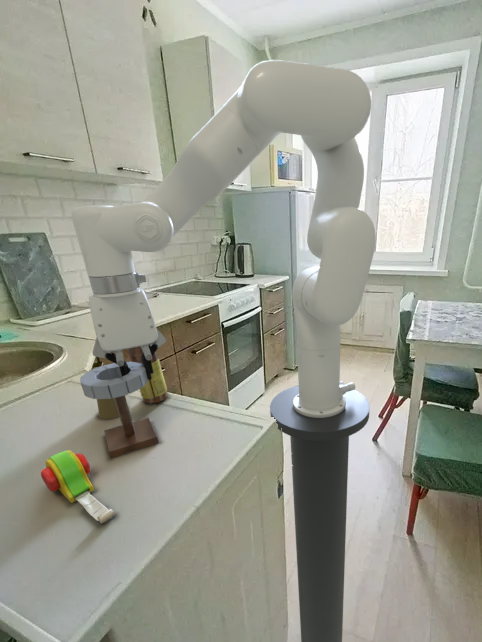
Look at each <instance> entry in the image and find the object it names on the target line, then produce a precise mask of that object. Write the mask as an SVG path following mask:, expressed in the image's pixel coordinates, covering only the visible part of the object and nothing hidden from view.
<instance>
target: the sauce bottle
mask: <svg viewBox="0 0 482 642" xmlns="http://www.w3.org/2000/svg"><path fill="white" fill-rule="evenodd" d="M149 345H150V344H148V346H149ZM128 355H129V359H130V362H136V363H141V364H142V360H141V358H142V355H143V353H142V350H141V347H140V346H138V347H133V348H128ZM151 363H152V368H153V372H154V373H152V374H151V378H152V379H151V380H149V379H148V382H147V383H146V384H145V385H144V387H142V388H141V389H139V392H140V396H141V397H142V400H143V402H145V403H146V404H158V403H160V402H163V401H165V400H166V399H167V398H168V396H169V392H168V387H167V384H166V380H165V377H164V373H163V369H162V365H161V362H160V358H159V356H158V353H157V351H156V352H155V353H154V354H153V356H152V359H151Z"/></svg>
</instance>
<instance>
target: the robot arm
mask: <svg viewBox="0 0 482 642" xmlns="http://www.w3.org/2000/svg"><path fill="white" fill-rule="evenodd" d="M366 83H367V82H365V81H364V80H363V78H362V77H361V76H360V75H359V74H357V73H355V72H353V71H351V70H349V69H345V68H340V67H335V66H325V65H317V64H312V63H305V62H298V61H290V60H282V59H269V60H268V59H267V60H262V61H260V62H257V63H256V64H254V65H253V66H252V67H251V68H250V69H249V71H248V72H247V74H246V76H245V78H244V80H243V81H242V83H241V85H240V86H239V88H238V89H237V90H236V91H235V92H234V93H233V94H232V95H231V96H230V97H229V99H227V101H226V102H225V103H224V104H223V105H222V106H221V108H219V110H217V111H216V113H215V114H214V115H213V116H212V117H211V118H210V119H209V120H208V121H207V122H206V123H205V125H203V126H202V127H201V128H200V130H198V131H197V132H196V133H195V134H194V135H193V136H192V138H191V139H189V141H188V142H187V144H186V145H185V146H184V148H183V149H182V151H181V152H180V155H179V156H178V159H177V161H176V162H175V164H174V165H173V167H172V169H171V170H170V171H169V172H168V174H167V175H166V176H165V177H164V178H163V179H162V181H161V182H159V184H158V185H157V187H155V188H154V189H153V191H152V192H151V193H150V194H149V195H148V196H147V197H146V198H145V199H144V200H143V201H138V202H134V203H129V204H122V205H117V206H114V205H109V204H107V205H106V204H105V205H104V204H103V205H101V204H99V205H82V206H77V207H75V208H73V210H72V211H71V220H72V224H73V227H74V231H75V234H76V238H77V241H78V245H79V248H80V252H81V256H82V258H83V262H84V265H85V270H86V273H87V277H88V280H89V283H90V286H91V291H92V293H91V294H89V295H88V301H89V310H90V316H91V319H92V324H93V329H94V332H95V336H96V337H95V340H94V343H93V347H92V356H93V357H95V358H100V359H106V360H108V361H110V362H112V364H113V363H115V364H117V365H118V366H119V368H120V371H121V375H122V377H123V376H125V375H127V374H128V373H129V368H128V365H127V363H126V362H127V361H126V360H125V358H124V353H123V350H126V349H128V350H129V349H130V348H133V347H138V346H140V347H141V350H142V353H143V355H142V358H141V360H142V364H143V366H144V367H145V370H146V374H147V378H148V379H149V380H151V379H152V378H151V374H152V373H154V372H153V368H152V363H151V359H152V356H153V354H154V353H155V352H156V353H157V351H158V349H159V348H161V347H162V346H163V345H164V344H166V342H167V338H166V337H165V335H163V334H162V332H161V331H160V330H159V329H158V328H157V325H156V322H155V318H154V315H153V311H152V308H151V306H150V303H149V300H148V297H147V294H146V292H145V291H144V289H143V288H141V284H143V283H146V282H147V277H146V274H140V273H138V272H137V271H136V267H135V263H134V258H133V253H132V252H142V253H157V252H160V251H161V252H162V251H163V250H165V249H166V248H167V247H168V246H169V245H170V243H171V242H172V241H173V238H174V237H176V235H177V234H178V233H179V232H180V231H181V230H182V229H183V228H184V226H185V225H186V224H187V223H188V222H190V220H191V219H192V218H193V217H194V216H195V215H197V213H198V212H199V211H201V209H203V208H204V206H206V205H207V204H208V203H210V202H211V201H213V200H215V199H216V198H217V197H219V196H221V194H222V193H224V191H226V190H227V188H229V187H230V186H231V185H232V184H233V183H234V182H235V181H236V179H237V178H239V176H240V175H241V174H242V173H243V172H244V171H245V170H246V169H247V168H248V167H249V166H250V165H252V163H253V162H254V161H255V160H256V159H257V157H259V156H260V155H261V153H263V151H264V150H266V148H267V147H268V146H270V144H272V142H273V141H274V140H276V138H277V137H278V136H279V135H280V134H281V133H283V134H290V135H297V136H300V137H301V139H302V141H303V143H304V144H305V146H307V148H308V149H309V151H310V152H311V154H312V156H313V159H314V160H315V164H316V168H317V180H316V188H315V194H314V200H313V206H312V210H311V215H310V220H309V223H308V230H307V236H306V237H307V238H306V239H307V240H306V243H307V247H308V250H309V251H310V252H311V254H312V255H313V256H314V257H316V258H317V259H319V260H320V262H319V266H312V267H311V266H310V267H308V268H306V269H304V270H302V271H300V273H299V274H298V275H297V276H296V278H295V280H294V282H293V285H292V290H291V292H292V293H291V298H292V305H293V306H292V307H293V312H294V319H295V329H296V353H297V372H298V373H297V376H298V377H297V380H298V381H297V382H298V385H299V394H298V395H297V396H295V398H294V399H293V408H294V409H295V410H296V411H297V412H298V413H300V414H301V415H304V416H307V417H313V418H326V417H331V416H334V415H337V414H339V413H340V412H342V411H343V410H344V409H345V407H346V400H345V398H344V397H343V395H344V394H345V393H346V392H349V391H352V390H356V384H355V383H354V382H352V381H351V382H348V383H346V384H345V382H344V381H343V380H341V379H340V377H341V375H340V374H341V325H344V324H346V323H348V322H349V321H350V320H351V319H352V318H354V316H355V315H356V313H357V312H358V310H359V307H360V305H361V303H362V299H363V296H364V292H365V288H366V285H367V282H368V277H369V275H370V270H371V266H372V262H373V258H374V254H375V250H376V242H377V236H376V235H377V234H376V228H375V225H374V222H373V219H372V218H371V217H370V215H369V214H368V213H367V212H366V211H364V210H363V209H361V208H359V207H360V203H361V197H362V192H363V187H364V179H365V165H364V160H363V155H362V153H361V150H360V147H359V144H358V142H357V140H356V137H357V136H358V135H359V134H360V133H362V131H363V130H364V128H365V127H366V125H367V124H368V122H369V118H370V115H371V111H372V96H371V93H370V89H369V87H368V85H367V84H366ZM148 344H150V345H149V346H148Z"/></svg>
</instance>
